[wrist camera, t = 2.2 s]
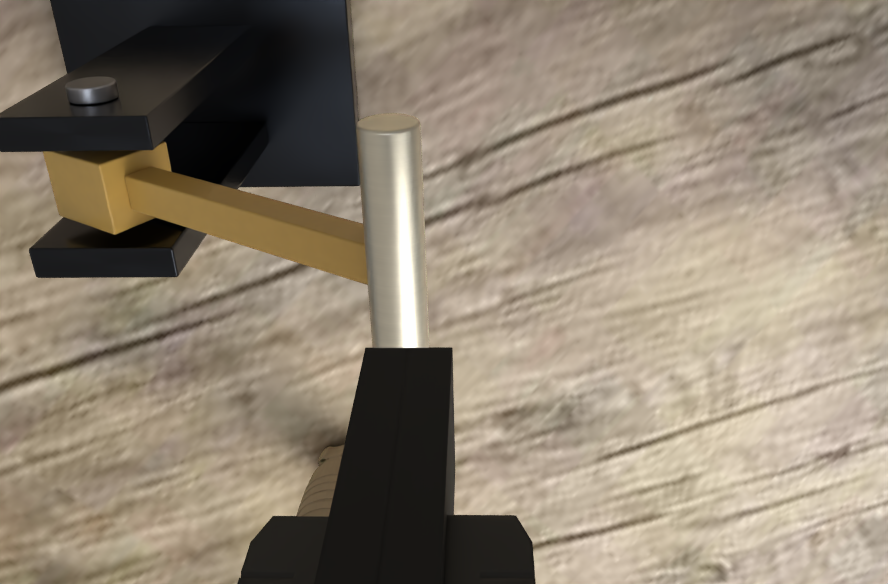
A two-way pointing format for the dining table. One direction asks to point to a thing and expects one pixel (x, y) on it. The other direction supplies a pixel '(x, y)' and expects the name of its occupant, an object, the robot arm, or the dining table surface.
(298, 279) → the dining table surface
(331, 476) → the handle
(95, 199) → the lever
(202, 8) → the bracket
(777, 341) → the dining table surface
